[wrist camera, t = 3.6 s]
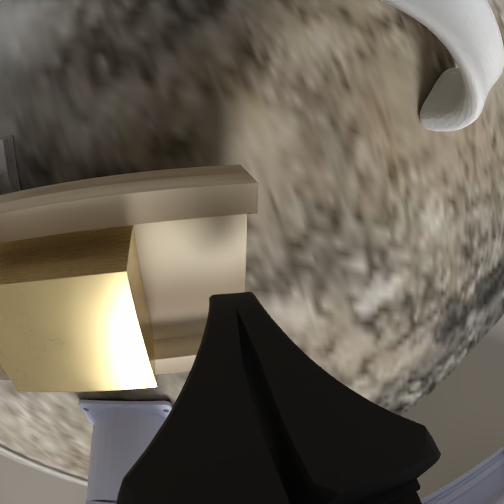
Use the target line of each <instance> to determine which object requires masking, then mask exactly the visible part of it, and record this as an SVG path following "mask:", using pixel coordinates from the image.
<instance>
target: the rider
mask: <svg viewBox="0 0 504 504" xmlns="http://www.w3.org/2000/svg"><path fill="white" fill-rule="evenodd" d="M0 365H1V367H2V368H3V370H4V371H5V373H6V374H7V375H8V377H9V378H10V380H11V381H12V383H13V384H14V385H15V387H16V388H17V390H18V391H26V392H91V391H112V390H127V389H140V388H151V387H157V380H156V368H155V353H154V336H153V328H152V324H151V319H150V315H149V310H148V305H147V301H146V296H145V291H144V286H143V280H142V275H141V269H140V264H139V258H138V252H137V246H136V239H135V233H134V226H133V225H127V226H119V227H110V228H102V229H94V230H86V231H79V232H71V233H64V234H57V235H49V236H43V237H36V238H29V239H22V240H16V241H10V242H3V243H0Z"/></svg>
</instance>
